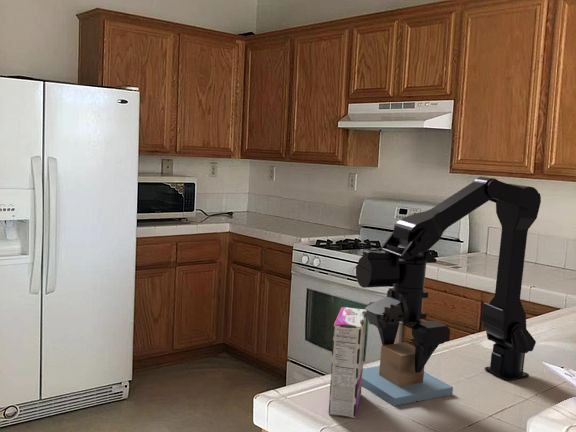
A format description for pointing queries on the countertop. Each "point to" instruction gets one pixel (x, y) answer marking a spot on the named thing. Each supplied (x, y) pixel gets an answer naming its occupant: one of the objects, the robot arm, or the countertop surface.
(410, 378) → the walnut cube
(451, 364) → the countertop surface
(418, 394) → the slate board
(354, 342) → the candy bar box
